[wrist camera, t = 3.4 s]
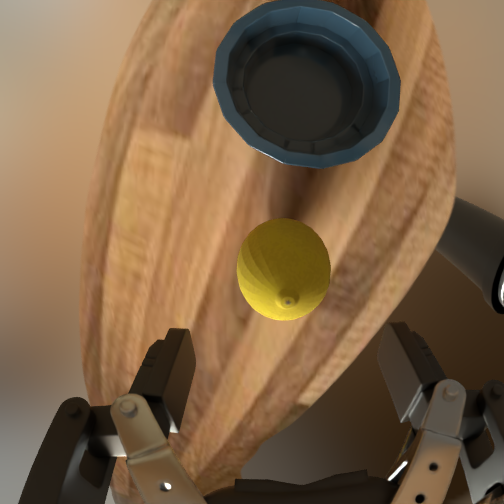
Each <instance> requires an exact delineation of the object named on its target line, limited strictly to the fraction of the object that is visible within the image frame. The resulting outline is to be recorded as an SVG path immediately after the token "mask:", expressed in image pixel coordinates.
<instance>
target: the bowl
mask: <svg viewBox="0 0 504 504" xmlns="http://www.w3.org/2000/svg"><path fill="white" fill-rule="evenodd" d="M400 85H401V80H400V76H399V73H398V70H397V68H396V65H395V62H394V59H393V56H392V54H391V51H390V49H389V47H388V45H387V44H386V43H385V42H384V41H383V39H382V38H381V37H380V36H379V35H378V33H377V32H376V31H375V30H374V29H373V28H372V27H371V25H370V24H369V23H368V22H366V21H365V20H364V19H362V18H360V17H359V16H357V15H355V14H353V13H352V12H350V11H348V10H346V9H345V8H343V7H341V6H339V5H337V4H334V3H332V2H327V1H322V0H278V1H273V2H268V3H264V4H262V5H260V6H258V7H257V8H255V9H254V10H252V11H250V12H249V13H247V14H246V15H244V16H243V17H241V18H240V19H238V20H237V21H236V22H235V23H233V25H232V26H231V28H230V29H229V31H228V33H227V34H226V36H225V37H224V39H223V40H222V42H221V44H220V45H219V47H218V48H217V51H216V57H215V66H214V75H213V87H214V90H215V93H216V96H217V99H218V102H219V105H220V107H221V110H222V113H223V116H224V117H225V119H226V121H227V122H228V123H229V124H230V125H231V126H232V127H233V128H234V129H235V131H236V132H237V133H238V134H239V135H240V136H241V137H242V138H243V140H244V141H245V142H246V143H247V144H248V145H249V146H250V147H252V148H254V149H256V150H258V151H260V152H262V153H264V154H266V155H267V156H269V157H271V158H273V159H275V160H277V161H279V162H281V163H284V164H287V165H295V166H303V167H310V168H317V169H324V168H328V167H332V166H336V165H340V164H344V163H349V162H353V161H356V160H358V159H359V158H361V157H362V156H363V155H365V154H366V153H367V152H369V151H370V150H371V149H373V148H374V147H375V146H377V145H378V144H379V143H381V142H382V141H383V139H384V138H385V136H386V134H387V132H388V130H389V129H390V127H391V125H392V123H393V121H394V119H395V118H396V116H397V114H398V112H399V101H400Z"/></svg>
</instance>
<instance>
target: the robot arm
mask: <svg viewBox="0 0 504 504" xmlns="http://www.w3.org/2000/svg"><path fill="white" fill-rule="evenodd" d="M498 297H499V301H500V303H501V304H502V305H503V306H504V270H503V272H502V275H501V278H500V282H499V288H498ZM378 363H379V366H380V368H381V371H382V373H383V376H384V379H385V381H386V384H387V386H388V389H389V391H390V394H391V397H392V400H393V402H394V405H395V408H396V411H397V413H398V416H399V419H400V422H401V423H402V422H406V421H411V423H412V426H411V427H410V430H409V432H408V434H407V437H406V439H405V441H404V443H403V446H402V448H401V450H400V452H399V454H398V456H397V459H396V461H395V463H394V464H393V466H392V468H391V469H390V471H389V472H388V474H387V475H386V477H385V478H384V479H383V478H379V477H372V476H368V475H367V470H361V471H355V472H349V473H343V474H336V475H334V476H331V477H328V478H325V479H322V480H319V481H316V482H313V483H310V484H306V485H297V484H290V483H284V482H279V481H273V480H258V479H235V485H234V486H228V487H225V488H221V489H218V490H215V491H213V492H211V493H209V494H207V495H205V496H204V497H203V495H202V494H201V492H200V491H199V490H198V488H197V487H196V485H195V484H194V482H193V481H192V479H191V478H190V476H189V475H188V473H187V472H186V470H185V469H184V467H183V466H182V464H181V462H180V461H179V459H178V457H177V456H176V454H175V452H174V451H173V449H172V447H171V446H170V444H169V442H168V440H167V439H168V436H169V432H177V433H179V430H180V426H181V422H182V418H183V414H184V410H185V406H186V402H187V399H188V395H189V391H190V387H191V383H192V380H193V376H194V372H195V367H196V358H195V353H194V348H193V344H192V339H191V335H190V331H189V329H180V328H170V329H169V331H168V333H167V335H166V337H165V340H157V341H156V342H155V343H154V344H153V345H152V346H150V347H149V350H148V352H147V354H146V356H145V358H144V360H143V362H142V366H140V369H139V371H138V373H137V375H136V377H135V379H134V382H133V384H132V386H131V388H130V391H129V393H128V394H125V395H122V396H120V397H118V398H117V399H116V400H115V401H114V402H113V403H112V405H108V406H92V407H91V406H90V405H89V404H88V402H87V401H86V400H85V399H83V398H80V397H73V398H70V399H67V400H66V401H64V402H63V403H62V404H61V405H60V407H59V409H58V411H57V413H56V415H55V417H54V419H53V421H52V423H51V425H50V427H49V429H48V431H47V434H46V436H45V438H44V440H43V442H42V445H41V447H40V449H39V451H38V454H37V456H36V458H35V461H34V463H33V465H32V468H31V470H30V473H29V476H28V478H27V481H26V483H25V486H24V489H23V491H22V494H21V497H20V500H19V503H18V504H105V500H106V496H107V492H108V488H109V485H110V481H111V477H112V473H113V470H114V466H115V463H116V459H117V456H127V460H126V465H127V467H128V470H129V472H130V474H131V476H132V479H133V481H134V483H135V485H136V487H137V489H138V491H139V493H140V495H141V497H142V499H143V501H144V503H145V504H442V503H443V500H444V498H445V495H446V493H447V490H448V487H449V485H450V482H451V479H452V476H453V473H454V470H455V467H456V464H457V461H458V457H459V455H460V459H461V462H462V465H463V469H464V472H465V475H466V479H467V483H468V486H469V490H470V494H471V498H472V503H473V504H504V384H503V383H502V382H500V381H498V380H490V381H488V382H486V383H485V384H484V386H483V388H482V389H481V390H465V389H464V387H463V386H462V385H461V384H460V383H459V382H457V381H455V380H451V379H447V377H446V375H445V374H444V372H443V370H442V368H441V367H440V365H439V363H438V361H437V360H436V358H435V356H434V355H433V354H432V351H431V350H430V348H428V345H427V343H426V342H425V340H424V338H423V337H421V336H420V335H419V334H417V333H416V332H415V331H413V332H411V331H410V329H409V328H408V326H407V324H406V323H405V322H404V321H397V322H389V323H386V325H385V327H384V331H383V335H382V338H381V342H380V345H379V349H378ZM487 427H488V429H489V431H490V433H491V436H492V438H493V441H494V444H495V449H494V451H493V449H492V446H491V443H490V441H489V438H488V436H487V434H486V431H485V429H486V428H487Z"/></svg>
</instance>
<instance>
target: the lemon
mask: <svg viewBox="0 0 504 504" xmlns="http://www.w3.org/2000/svg"><path fill="white" fill-rule="evenodd" d="M330 272H331V265H330V260H329V255H328V251H327V249H326V247H325V245H324V243H323V241H322V239H321V238H320V237H319V236H318V234H317V233H316V232H315V231H314V230H313V229H312V228H310V227H309V226H307V225H305V224H304V223H302V222H300V221H296V220H293V219H288V218H278V219H273V220H269V221H267V222H264V223H262V224H260V225H258V226H257V227H256V228H255V229H254V230H252V231H251V232H250V233H249V235H248V236H247V238H246V239H245V240H244V242H243V244H242V246H241V249H240V252H239V254H238V259H237V277H238V281H239V285H240V289H241V291H242V293H243V295H244V297H245V298H246V300H247V302H248V303H249V304H250V305H251V306H252V307H253V308H254V309H255V310H256V311H258V312H259V313H261V314H262V315H264V316H266V317H269V318H272V319H276V320H293V319H296V318H300V317H302V316H304V315H306V314H308V313H310V312H311V311H312V310H313V309H314V308H316V307H317V306H318V305H319V304H320V302H321V301H322V299H323V298H324V296H325V294H326V292H327V289H328V286H329V283H330Z"/></svg>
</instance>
